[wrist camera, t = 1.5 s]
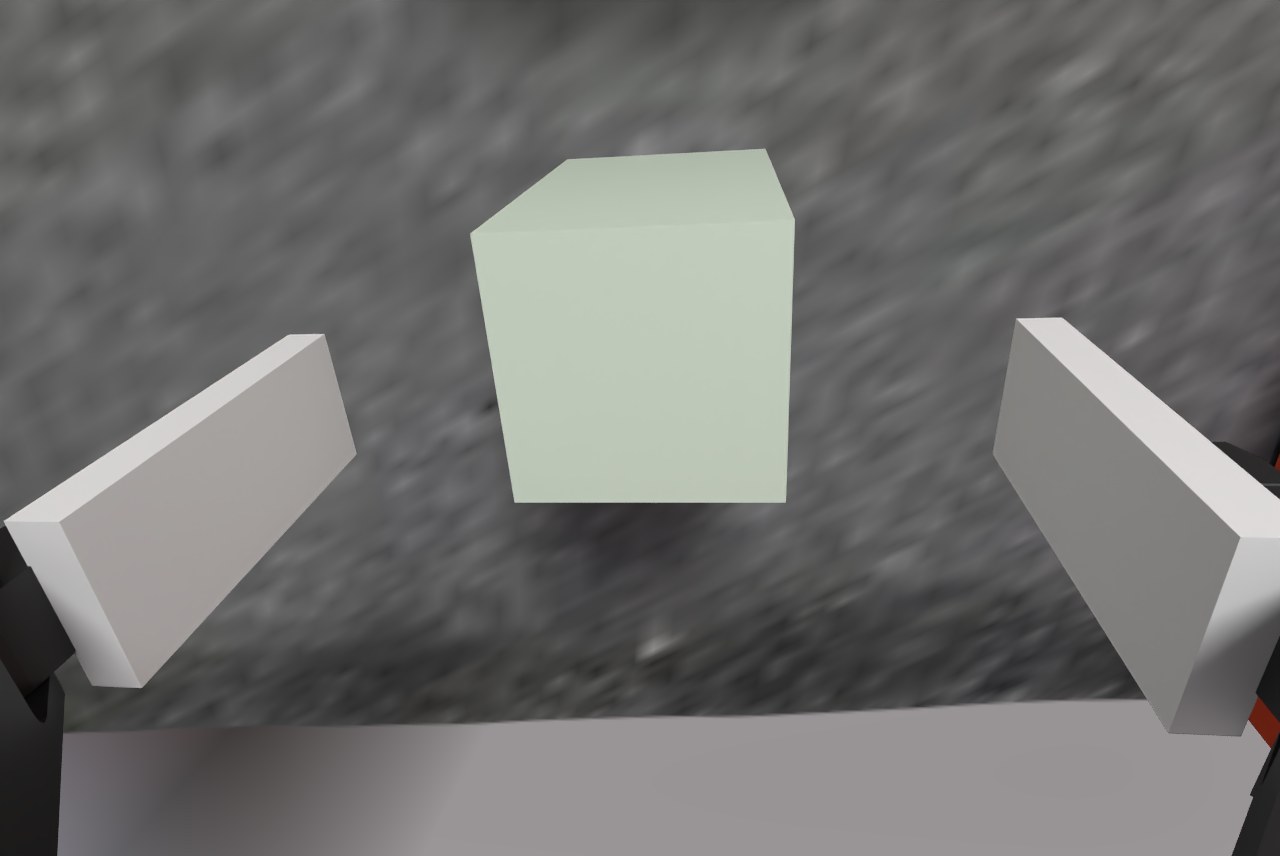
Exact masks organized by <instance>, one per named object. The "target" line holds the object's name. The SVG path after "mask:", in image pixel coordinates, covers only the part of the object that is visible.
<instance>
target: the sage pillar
mask: <svg viewBox="0 0 1280 856" xmlns="http://www.w3.org/2000/svg"><path fill="white" fill-rule="evenodd" d="M794 229H795V219H794V217H793V214H792V212H791V209H790V207H789V205H788V202H787V200H786V197H785V195H784V193H783V190H782V188H781V185H780V183H779V181H778V178H777V176H776V173H775V171H774V169H773V166H772V164H771V161H770V159H769V157H768V154H767V152H766V149H753V150H735V151H716V152H698V153H679V154H660V155H642V156H623V157H604V158H586V159H567V160H566V161H565V162H563V163H562V164H561V165H559V166H558V167H557V168H555V169H554V170H553V171H552V172H550V173H549V174H548V175H546V176H545V177H544V178H542V179H541V180H540V181H538V182H537V183H536V184H535V185H533V186H532V187H531V188H529V189H528V190H527V191H525V192H524V193H523V194H521V195H520V196H519V197H518V198H516V199H515V200H514V201H512V202H511V203H510V204H508V205H507V206H506V207H504V208H503V209H502V210H501V211H499V212H498V213H497V214H495V215H494V216H493V217H491V218H490V219H489V220H487V221H486V222H485V223H484V224H482V225H481V226H480V227H478V228H477V229H476V230H474V231H473V232H472V233H470V235H471V241H472V247H473V253H474V259H475V265H476V271H477V278H478V284H479V290H480V296H481V302H482V308H483V314H484V320H485V326H486V332H487V338H488V344H489V350H490V356H491V362H492V368H493V374H494V381H495V387H496V393H497V399H498V405H499V411H500V417H501V423H502V429H503V435H504V441H505V447H506V453H507V459H508V465H509V471H510V478H511V484H512V490H513V496H514V502H515V503H786V482H787V450H788V418H789V387H790V355H791V324H792V292H793V260H794Z"/></svg>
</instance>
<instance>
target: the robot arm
mask: <svg viewBox="0 0 1280 856" xmlns="http://www.w3.org/2000/svg"><path fill="white" fill-rule="evenodd" d="M355 455H356V450H355V446H354V442H353V439H352V435H351V431H350V427H349V424H348V420H347V416H346V413H345V409H344V405H343V401H342V398H341V394H340V390H339V386H338V383H337V379H336V375H335V372H334V368H333V364H332V360H331V357H330V353H329V349H328V345H327V342H326V338H325V334H299V335H288V336H286V337H285V338H283V339H282V340H280V341H278V342H277V343H275V344H274V345H272V346H271V347H269V348H268V349H266V350H265V351H263V352H262V353H260V354H259V355H257V356H256V357H254V358H252V359H251V360H249V361H248V362H246V363H245V364H243V365H242V366H240V367H239V368H237V369H236V370H234V371H233V372H231V373H230V374H228V375H226V376H225V377H223V378H222V379H220V380H219V381H217V382H216V383H214V384H213V385H211V386H210V387H208V388H207V389H205V390H204V391H202V392H200V393H199V394H197V395H196V396H194V397H193V398H191V399H190V400H188V401H187V402H185V403H184V404H182V405H181V406H179V407H178V408H176V409H175V410H173V411H171V412H170V413H168V414H167V415H165V416H164V417H162V418H161V419H159V420H158V421H156V422H155V423H153V424H152V425H150V426H149V427H147V428H145V429H144V430H142V431H141V432H139V433H138V434H136V435H135V436H133V437H132V438H130V439H129V440H127V441H126V442H124V443H123V444H121V445H119V446H118V447H116V448H115V449H113V450H112V451H110V452H109V453H107V454H106V455H104V456H103V457H101V458H100V459H98V460H97V461H95V462H93V463H92V464H90V465H89V466H87V467H86V468H84V469H83V470H81V471H80V472H78V473H77V474H75V475H74V476H72V477H71V478H69V479H67V480H66V481H64V482H63V483H61V484H60V485H58V486H57V487H55V488H54V489H52V490H51V491H49V492H48V493H46V494H45V495H43V496H41V497H40V498H38V499H37V500H35V501H34V502H32V503H31V504H29V505H28V506H26V507H25V508H23V509H22V510H20V511H19V512H17V513H15V514H14V515H12V516H11V517H9V518H8V519H6V520H5V521H4V523H5V526H4V527H2V528H1V529H0V856H57V848H58V827H59V806H60V805H59V804H60V783H61V762H62V741H63V720H64V699H65V693H64V691H63V688H62V686H61V684H60V682H59V680H58V678H57V677H56V675H55V673H54V671H55V670H56V669H58V668H59V667H60V666H61V665H62V664H63V663H64V662H65V661H66V660H67V659H68V658H69V657H71V656H72V655H73V654H74V653H75V655H76V657H77V658H78V660H79V662H80V664H81V666H82V668H83V670H84V671H85V673H86V675H87V677H88V679H89V681H90V683H91V684H92V686H110V687H132V688H142V687H143V686H144V685H145V684H146V683H147V682H148V681H149V680H150V679H151V677H152V676H153V675H154V674H155V673H156V672H157V671H158V670H159V669H160V668H161V667H162V665H163V664H164V663H165V662H166V661H167V660H168V659H169V658H170V657H171V656H172V655H173V654H174V652H175V651H176V650H177V649H178V648H179V647H180V646H181V645H182V644H183V643H184V642H185V640H186V639H187V638H188V637H189V636H190V635H191V634H192V633H193V632H194V631H195V630H196V628H197V627H198V626H199V625H200V624H201V623H202V622H203V621H204V620H205V619H206V618H207V617H208V615H209V614H210V613H211V612H212V611H213V610H214V609H215V608H216V607H217V606H218V605H219V603H220V602H221V601H222V600H223V599H224V598H225V597H226V596H227V595H228V594H229V593H230V591H231V590H232V589H233V588H234V587H235V586H236V585H237V584H238V583H239V582H240V581H241V579H242V578H243V577H244V576H245V575H246V574H247V573H248V572H249V571H250V570H251V569H252V568H253V566H254V565H255V564H256V563H257V562H258V561H259V560H260V559H261V558H262V557H263V556H264V554H265V553H266V552H267V551H268V550H269V549H270V548H271V547H272V546H273V545H274V544H275V542H276V541H277V540H278V539H279V538H280V537H281V536H282V535H283V534H284V533H285V532H286V531H287V529H288V528H289V527H290V526H291V525H292V524H293V523H294V522H295V521H296V520H297V519H298V517H299V516H300V515H301V514H302V513H303V512H304V511H305V510H306V509H307V508H308V507H309V505H310V504H311V503H312V502H313V501H314V500H315V499H316V498H317V497H318V496H319V495H320V494H321V492H322V491H323V490H324V489H325V488H326V487H327V486H328V485H329V484H330V483H331V482H332V480H333V479H334V478H335V477H336V476H337V475H338V474H339V473H340V472H341V471H342V470H343V468H344V467H345V466H346V465H347V464H348V463H349V462H350V461H351V460H352V459H353V458H354V457H355ZM993 456H994V457H995V459H996V460H997V462H998V464H999V465H1000V467H1001V468H1002V470H1003V471H1004V473H1005V475H1006V476H1007V478H1008V479H1009V481H1010V483H1011V484H1012V486H1013V487H1014V489H1015V490H1016V492H1017V494H1018V495H1019V497H1020V498H1021V500H1022V502H1023V503H1024V505H1025V506H1026V508H1027V510H1028V511H1029V513H1030V514H1031V516H1032V517H1033V519H1034V521H1035V522H1036V524H1037V525H1038V527H1039V529H1040V530H1041V532H1042V533H1043V535H1044V536H1045V538H1046V540H1047V541H1048V543H1049V544H1050V546H1051V548H1052V549H1053V551H1054V552H1055V554H1056V556H1057V557H1058V559H1059V560H1060V562H1061V563H1062V565H1063V567H1064V568H1065V570H1066V571H1067V573H1068V575H1069V576H1070V578H1071V579H1072V581H1073V583H1074V584H1075V586H1076V587H1077V589H1078V590H1079V592H1080V594H1081V595H1082V597H1083V598H1084V600H1085V602H1086V603H1087V605H1088V606H1089V608H1090V609H1091V611H1092V613H1093V614H1094V616H1095V617H1096V619H1097V621H1098V622H1099V624H1100V625H1101V627H1102V629H1103V630H1104V632H1105V633H1106V635H1107V636H1108V638H1109V640H1110V641H1111V643H1112V644H1113V646H1114V648H1115V649H1116V651H1117V652H1118V654H1119V655H1120V657H1121V659H1122V660H1123V662H1124V663H1125V665H1126V667H1127V668H1128V670H1129V671H1130V673H1131V675H1132V676H1133V678H1134V679H1135V681H1136V682H1137V684H1138V686H1139V687H1140V689H1141V690H1142V692H1143V694H1144V695H1145V697H1146V698H1147V700H1148V701H1149V703H1150V705H1151V706H1152V708H1153V709H1154V711H1155V712H1156V714H1157V716H1158V717H1159V719H1160V720H1161V722H1162V723H1163V725H1164V727H1165V728H1166V730H1167V732H1168V733H1175V734H1197V735H1220V736H1241V735H1242V733H1243V730H1244V728H1245V725H1246V723H1247V721H1248V719H1249V716H1250V714H1251V712H1252V710H1253V707H1254V705H1255V703H1256V700H1257V698H1258V697H1259V698H1260V699H1261V700H1262V702H1263V703H1264V704H1265V705H1266V707H1267V708H1268V709H1269V710H1270V712H1271V713H1272V714H1273V715H1274V717H1275V718H1276V719H1277V720H1278V722H1279V723H1280V471H1278V470H1277V469H1276V468H1274V467H1273V466H1272V465H1271V464H1269V463H1268V462H1267V461H1266V460H1264V459H1261V458H1259V457H1257V456H1255V455H1253V454H1251V453H1249V452H1246V451H1244V450H1242V449H1240V448H1238V447H1236V446H1233V445H1231V444H1229V443H1227V442H1210V441H1209V440H1208V439H1207V438H1205V437H1204V436H1203V435H1202V434H1201V433H1199V432H1198V431H1197V430H1196V429H1195V428H1193V427H1192V426H1191V425H1190V424H1189V423H1187V422H1186V421H1185V420H1184V419H1183V418H1181V417H1180V416H1179V415H1178V414H1177V413H1176V412H1174V411H1173V410H1172V409H1171V408H1170V407H1168V406H1167V405H1166V404H1165V403H1164V402H1162V401H1161V400H1160V399H1159V398H1158V397H1156V396H1155V395H1154V394H1153V393H1152V392H1150V391H1149V390H1148V389H1147V388H1146V387H1144V386H1143V385H1142V384H1141V383H1140V382H1138V381H1137V380H1136V379H1135V378H1134V377H1132V376H1131V375H1130V374H1129V373H1128V372H1126V371H1125V370H1124V369H1123V368H1122V367H1120V366H1119V365H1118V364H1117V363H1116V362H1114V361H1113V360H1112V359H1111V358H1110V357H1108V356H1107V355H1106V354H1105V353H1104V352H1102V351H1101V350H1100V349H1099V348H1098V347H1096V346H1095V345H1094V344H1093V343H1092V342H1090V341H1089V340H1088V339H1087V338H1086V337H1084V336H1083V335H1082V334H1081V333H1080V332H1079V331H1077V330H1076V329H1075V328H1074V327H1073V326H1071V325H1070V324H1069V323H1068V322H1067V321H1065V320H1064V319H1063V318H1025V319H1016V322H1015V328H1014V334H1013V340H1012V345H1011V351H1010V357H1009V363H1008V368H1007V374H1006V380H1005V386H1004V391H1003V397H1002V403H1001V409H1000V414H999V420H998V426H997V432H996V437H995V443H994V449H993ZM1250 795H1251V796H1253V800H1252V802H1251V805H1250V808H1249V810H1248V813H1247V816H1246V819H1245V821H1244V824H1243V827H1242V829H1241V832H1240V835H1239V838H1238V840H1237V843H1236V846H1235V848H1234V851H1233V854H1232V856H1280V731H1279V733H1278V735H1277V737H1276V740H1275V742H1274V744H1273V746H1272V748H1271V751H1270V753H1269V755H1268V757H1267V759H1266V762H1265V763H1264V766H1263V768H1262V770H1261V772H1260V775H1259V776H1258V779H1257V781H1256V783H1255V785H1254V787H1253V789H1252V791H1251V794H1250Z"/></svg>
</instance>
